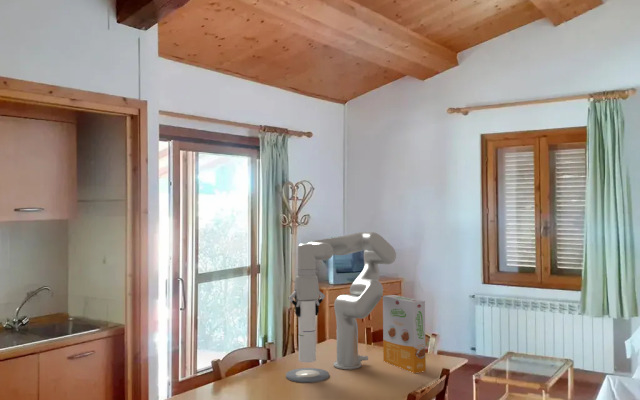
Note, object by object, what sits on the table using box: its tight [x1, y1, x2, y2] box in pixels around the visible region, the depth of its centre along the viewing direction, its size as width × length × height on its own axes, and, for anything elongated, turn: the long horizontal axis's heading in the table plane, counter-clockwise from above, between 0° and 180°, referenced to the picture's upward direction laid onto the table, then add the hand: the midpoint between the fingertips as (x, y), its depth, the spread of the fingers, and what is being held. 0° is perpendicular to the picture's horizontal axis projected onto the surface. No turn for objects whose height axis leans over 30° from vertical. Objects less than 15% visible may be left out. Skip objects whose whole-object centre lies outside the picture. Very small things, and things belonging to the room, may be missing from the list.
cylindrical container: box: [298, 300, 317, 363], centre depth 232 cm, size 7×7×25 cm
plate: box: [285, 367, 330, 384], centre depth 231 cm, size 18×18×1 cm
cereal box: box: [382, 294, 427, 374], centre depth 246 cm, size 22×6×30 cm, turn 28°
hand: (306, 315), depth 232 cm, fingers closed on cylindrical container, 7 cm apart
